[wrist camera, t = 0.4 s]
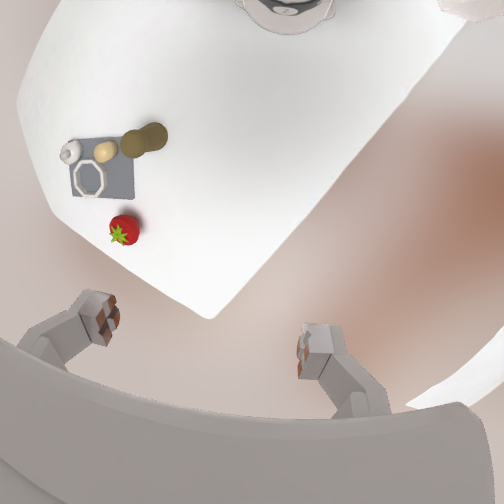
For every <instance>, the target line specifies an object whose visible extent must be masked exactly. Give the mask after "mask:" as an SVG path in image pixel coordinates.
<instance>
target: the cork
mask: <svg viewBox="0 0 504 504" xmlns="http://www.w3.org/2000/svg"><path fill="white" fill-rule="evenodd" d="M167 138H168V134H167V130H166V129H165V127H164V126H163V125H162V124H159V123H150V124H148V125H146V126H145V127H143V128H141V129H139V130H131V131H128V132H127V133H125V134H124V135H123V137H122V138H121V141H120V148H121V151H122V153H123V154H124V155H125V156H126V157H128V158H138V157H140V156H142V155H143V154H144V153H145V152H149V151H156V150H159V149H161V148H163V147H164V145H165V144H166V142H167Z"/></svg>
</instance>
